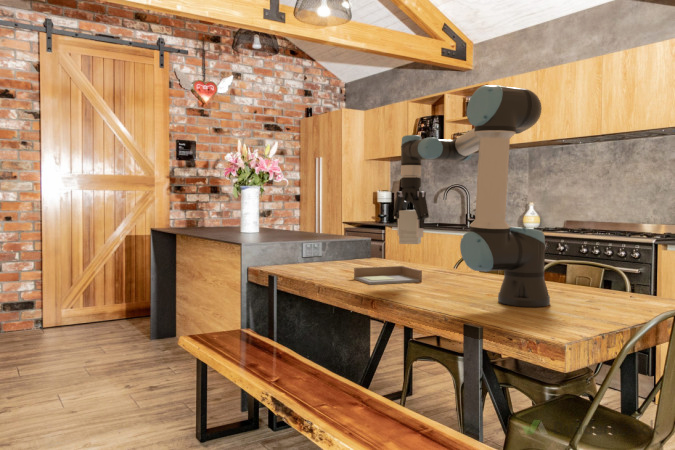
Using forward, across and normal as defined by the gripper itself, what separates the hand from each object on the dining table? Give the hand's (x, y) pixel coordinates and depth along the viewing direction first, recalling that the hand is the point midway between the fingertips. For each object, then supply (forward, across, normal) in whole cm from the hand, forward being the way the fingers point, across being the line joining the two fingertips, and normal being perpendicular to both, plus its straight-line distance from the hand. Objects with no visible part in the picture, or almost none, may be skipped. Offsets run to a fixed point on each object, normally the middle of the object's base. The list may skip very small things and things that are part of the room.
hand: (410, 236), depth 201 cm
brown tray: (+18, +12, +1) cm, 22 cm away
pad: (+18, +13, +5) cm, 23 cm away
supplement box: (+3, 0, 0) cm, 3 cm away
